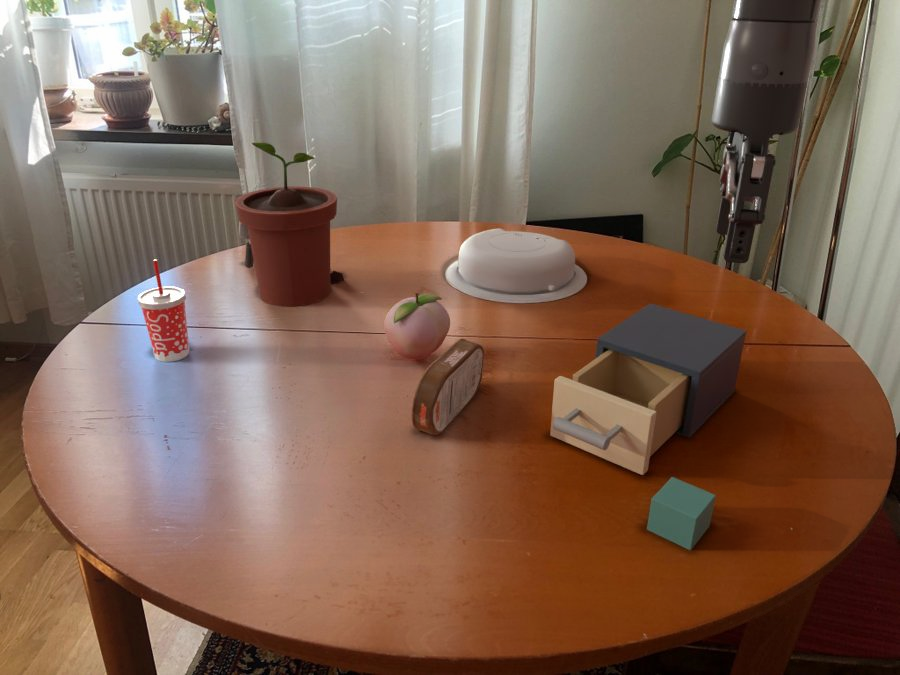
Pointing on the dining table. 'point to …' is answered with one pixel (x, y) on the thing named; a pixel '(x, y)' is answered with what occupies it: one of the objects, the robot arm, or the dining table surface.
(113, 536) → the dining table surface
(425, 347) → the decorative fruit
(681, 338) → the cabinet
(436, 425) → the tin
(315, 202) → the potted plant
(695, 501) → the block
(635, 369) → the drawer
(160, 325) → the beverage cup
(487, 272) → the round ceiling alarm
